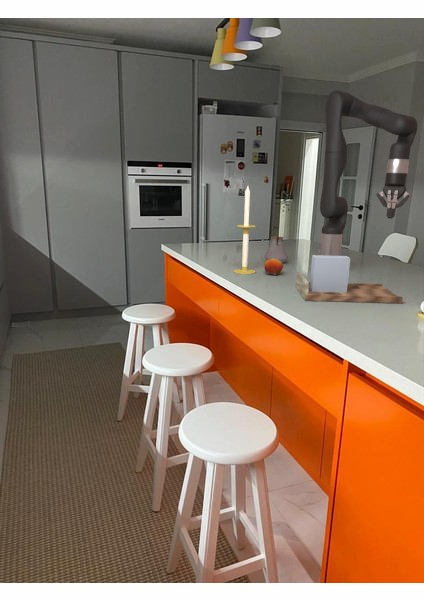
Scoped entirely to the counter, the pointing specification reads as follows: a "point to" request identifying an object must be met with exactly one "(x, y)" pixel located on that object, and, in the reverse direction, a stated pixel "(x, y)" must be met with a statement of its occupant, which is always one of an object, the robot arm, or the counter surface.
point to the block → (329, 273)
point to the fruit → (273, 266)
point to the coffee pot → (276, 250)
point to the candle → (245, 236)
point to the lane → (348, 293)
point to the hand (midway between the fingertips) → (390, 218)
